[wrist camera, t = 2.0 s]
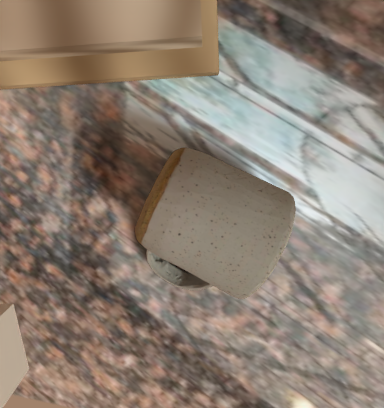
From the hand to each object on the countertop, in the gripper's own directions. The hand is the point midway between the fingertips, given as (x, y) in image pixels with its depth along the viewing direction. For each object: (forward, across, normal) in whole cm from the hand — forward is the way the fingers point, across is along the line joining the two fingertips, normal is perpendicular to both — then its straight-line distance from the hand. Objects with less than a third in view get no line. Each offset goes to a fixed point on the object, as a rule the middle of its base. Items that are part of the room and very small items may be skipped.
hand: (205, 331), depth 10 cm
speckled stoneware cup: (+14, 0, +1) cm, 14 cm away
